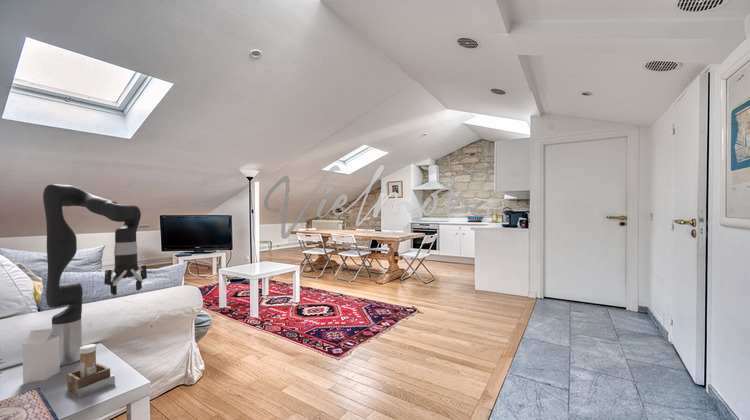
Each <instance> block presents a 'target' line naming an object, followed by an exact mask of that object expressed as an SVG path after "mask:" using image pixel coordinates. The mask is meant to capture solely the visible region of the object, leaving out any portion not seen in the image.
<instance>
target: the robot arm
mask: <svg viewBox="0 0 750 420" xmlns="http://www.w3.org/2000/svg"><path fill="white" fill-rule="evenodd" d="M42 198H43V199H42V200H43V207H44V213H45V221H46V260H47V262H46V263H47V277H46V289H45V290H46V291H45V298H46V299H45V301H46V304H47V306H48V307H49V308H53V309H54V308H59V307H64V306H67V307H66V308H65V309H63V311H61V312H59V313H56V314H55V315H53V316H52V317H51V329H52V332H54V333H56V334H57V335H59V353H60V366H67V365H71V364H74V363H76V362H80V353H79V349H80V347H82V346H83V340H82V339H83V336H82V335H83V334H82V332H83V330H82V312H83V296H84V295H83V293H84V292H83V286H82V284H81V282H79V281H71V282H65V283H60V281H61V277H62V275H63V272H64V270H65V269H66V268H67V267H68V265H69V264H70V263H71V261H72V260H73V259H74V257H75V255H76V254H77V250H78V248H77V247H78V246H77V245H78V242H77V235H76V234H75V232H74V230H73V229H72V228H71V226H70V225H69V224H68V223H67V221H66V219H65V217H64V212H63V207H82V208H83V207H84V208H86V209H87V210H88V211H89V212H91V213H93V214H97V215H99V216H103V217H105V218H107V219H109V220H110V221H113V222H118V223H123V226H121V227H118V228H116V230H115V231H114V242H115V243H114V251H113V253H114V269H113V268H112V269H108V268H107V269H105V270H104V283H103V284H104V285H107V286H110V291H109V292H110V294H111V295H113V296H117V294H118V292H117V291H118V286H117V285H118V283H119V282H120V281H121V280H122V279H127V278H134V279H135V280H136V281H135V291H141V289H142V288H143V280H146V279H147V278H148V274H147V265H146V264H140V265H138V242H137V230H138V227H139V225H140V221H141V218H142V217H141V215H142V212H141V209H140V208H139V207H138V206H137V205H135V204H119V203H118V202H116V201H115V200H112V199H108V198H104V197H100V196H97V195H94V194H92V193H89V192H87V191H85V190H83V189H81V188H79V187H77V186H74V185H71V184H70V185H69V184H58V183H57V184H56V183H52V184H48V185H46V187H44V189H43V194H42ZM138 270H139V271H140V274H139V273H137V272H138ZM114 274H115V275H114ZM112 275H114V277H112Z"/></svg>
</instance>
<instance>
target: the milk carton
mask: <svg viewBox="0 0 750 420" xmlns="http://www.w3.org/2000/svg"><path fill="white" fill-rule="evenodd" d="M29 332H30V333H29V334H28V335H27V337H26V339H25V340H24V342H23V343H22V384H23V385H26V384H29V383H32V382H39V381H46V380H48V379H50V378H51V377H53V376H54V375H57V374H59V373H61V370H60V369H61V367H60V353H59V335H57V334H56V333H54V332H52V328H41V329H31V330H30V331H29Z"/></svg>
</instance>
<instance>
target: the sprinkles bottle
mask: <svg viewBox="0 0 750 420" xmlns="http://www.w3.org/2000/svg"><path fill="white" fill-rule="evenodd" d="M79 353H80V360H79V370H80V377H81V378H83V377H86V376H88V375H91V374H94V373H96V364H97V354H96V353H97V344H96V343H91V344H90V343H89V344H84V345H82V347H80V349H79Z"/></svg>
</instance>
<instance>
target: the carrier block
mask: <svg viewBox="0 0 750 420" xmlns="http://www.w3.org/2000/svg"><path fill="white" fill-rule="evenodd" d="M109 375H111V368H110V367H108V366H106V365H104V364H101V363H96V373H94V374H91V375H88V376H86V377H83V378H81V377H80V369H77V370H74V371H72V372H68V373H67V374H66V376H67V377H66V386H67V389H66V390H67V391H69V392H71V393H72V394H74V395H75V396H77V387H80V386H82V385H85V384H88V383H90V382H93V381H96V380H98V379H101V378H104V377H106V376H109Z"/></svg>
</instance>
